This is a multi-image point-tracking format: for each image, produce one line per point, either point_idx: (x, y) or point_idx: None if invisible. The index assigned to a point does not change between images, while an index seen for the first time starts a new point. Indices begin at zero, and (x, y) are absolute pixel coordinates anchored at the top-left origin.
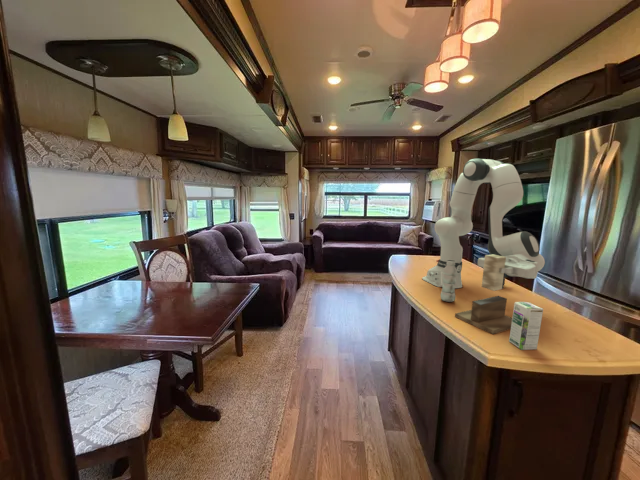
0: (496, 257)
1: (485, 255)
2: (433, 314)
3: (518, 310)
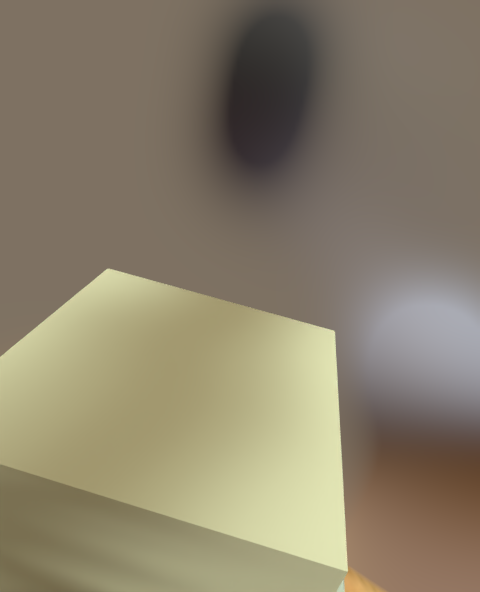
0: (131, 282)
1: (325, 330)
2: (359, 578)
3: None
